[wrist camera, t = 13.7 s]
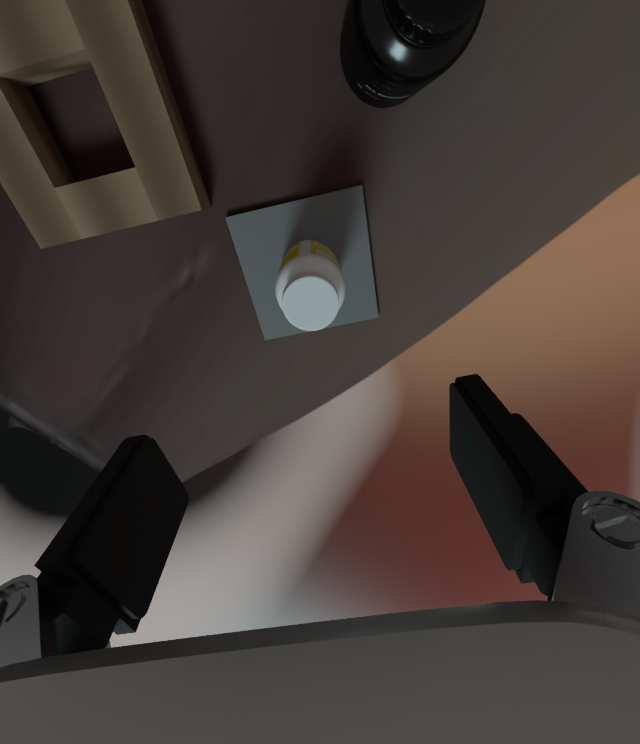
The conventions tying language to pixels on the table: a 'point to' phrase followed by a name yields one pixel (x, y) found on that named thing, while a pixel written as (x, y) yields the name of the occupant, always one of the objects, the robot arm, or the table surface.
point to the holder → (128, 104)
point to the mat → (298, 223)
